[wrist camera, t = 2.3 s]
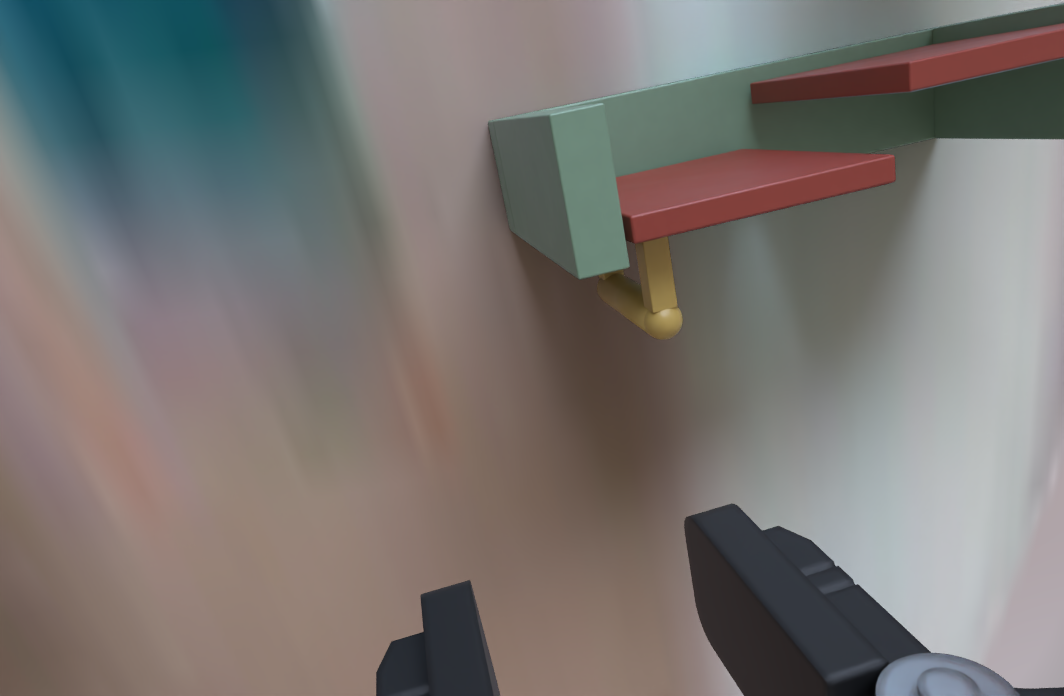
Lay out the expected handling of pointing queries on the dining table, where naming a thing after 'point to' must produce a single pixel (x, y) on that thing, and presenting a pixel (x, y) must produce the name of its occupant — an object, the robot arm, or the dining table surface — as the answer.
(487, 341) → the dining table surface
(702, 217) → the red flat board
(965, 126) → the green double frame
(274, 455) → the dining table surface
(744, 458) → the dining table surface
